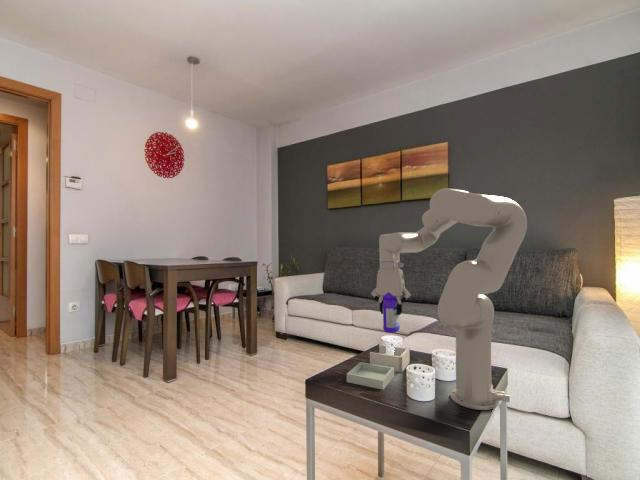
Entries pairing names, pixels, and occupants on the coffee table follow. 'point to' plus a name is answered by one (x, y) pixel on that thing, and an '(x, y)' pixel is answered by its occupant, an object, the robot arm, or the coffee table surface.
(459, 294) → the robot arm
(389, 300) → the bottle
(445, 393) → the coffee table surface
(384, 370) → the tray
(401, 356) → the box
